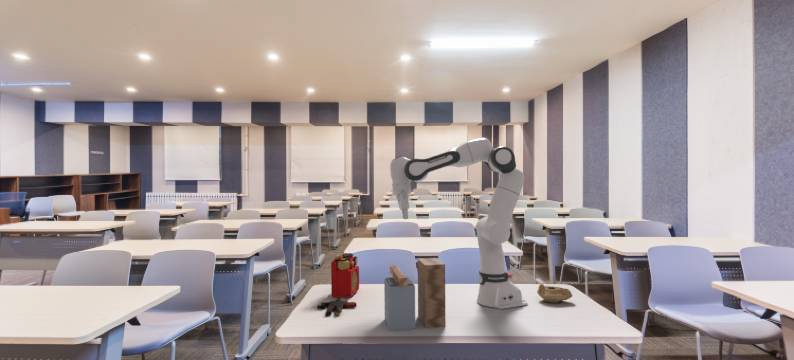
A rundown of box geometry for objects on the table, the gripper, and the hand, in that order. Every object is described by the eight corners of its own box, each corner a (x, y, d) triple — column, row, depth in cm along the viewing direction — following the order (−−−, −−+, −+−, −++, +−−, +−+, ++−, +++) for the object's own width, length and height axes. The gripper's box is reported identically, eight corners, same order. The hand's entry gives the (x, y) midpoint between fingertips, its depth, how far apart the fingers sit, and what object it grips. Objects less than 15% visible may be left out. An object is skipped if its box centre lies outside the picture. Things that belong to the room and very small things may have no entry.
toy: (358, 307, 167) (358, 301, 167) (335, 319, 153) (335, 312, 153) (332, 302, 175) (331, 296, 175) (307, 313, 161) (307, 306, 161)
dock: (408, 317, 153) (408, 276, 154) (415, 328, 142) (414, 284, 142) (384, 319, 152) (384, 277, 152) (389, 330, 140) (389, 285, 140)
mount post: (436, 315, 156) (436, 258, 156) (445, 326, 144) (445, 264, 144) (418, 316, 154) (417, 258, 154) (425, 327, 142) (425, 265, 142)
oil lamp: (576, 305, 168) (576, 287, 168) (543, 305, 167) (543, 287, 167) (564, 297, 179) (564, 280, 179) (534, 297, 178) (533, 281, 178)
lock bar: (396, 272, 161) (396, 265, 161) (406, 286, 139) (406, 277, 139) (389, 272, 160) (389, 265, 160) (399, 286, 139) (399, 278, 139)
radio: (350, 299, 178) (350, 257, 178) (330, 298, 180) (330, 256, 180) (360, 289, 193) (360, 251, 193) (341, 288, 195) (341, 250, 195)
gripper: (410, 188, 170) (413, 218, 169) (407, 191, 191) (410, 217, 189) (396, 190, 170) (400, 220, 169) (394, 192, 190) (398, 219, 189)
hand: (405, 219), depth 179 cm, fingers open, 8 cm apart
